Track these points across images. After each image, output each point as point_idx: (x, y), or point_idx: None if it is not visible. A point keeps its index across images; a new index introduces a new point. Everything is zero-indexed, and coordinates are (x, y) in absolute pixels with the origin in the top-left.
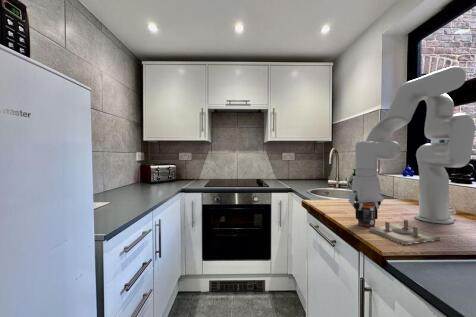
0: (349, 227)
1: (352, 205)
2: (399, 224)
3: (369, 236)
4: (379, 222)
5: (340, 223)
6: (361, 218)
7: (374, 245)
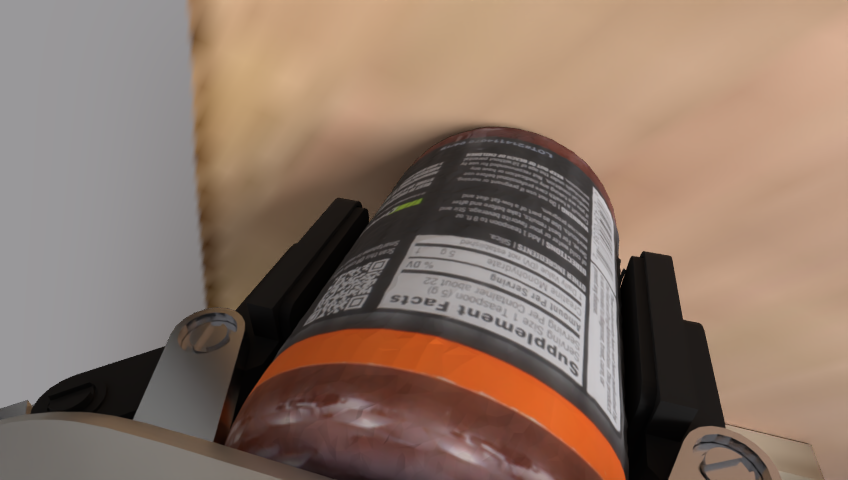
0: (248, 188)
1: (82, 385)
2: (787, 477)
3: None
4: (838, 224)
5: (210, 4)
6: None
7: None
